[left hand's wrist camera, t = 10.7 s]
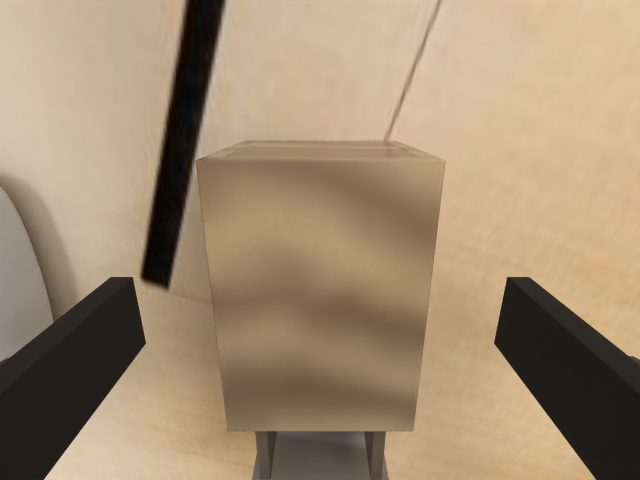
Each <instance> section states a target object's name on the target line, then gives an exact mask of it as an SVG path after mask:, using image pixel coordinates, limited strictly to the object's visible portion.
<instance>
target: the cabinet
mask: <svg viewBox="0 0 640 480" xmlns="http://www.w3.org/2000/svg"><path fill="white" fill-rule="evenodd" d="M196 167H197V175H198V184H199V192H200V200H201V209H202V217H203V226H204V234H205V243H206V251H207V260H208V268H209V277H210V285H211V293H212V302H213V310H214V319H215V327H216V336H217V344H218V353H219V361H220V370H221V378H222V386H223V395H224V403H225V412H226V420H227V429H228V431H413V429H414V421H415V413H416V404H417V396H418V387H419V379H420V371H421V362H422V354H423V345H424V337H425V329H426V320H427V312H428V303H429V295H430V286H431V278H432V270H433V261H434V253H435V244H436V236H437V228H438V219H439V211H440V202H441V194H442V186H443V177H444V169H445V160H443V159H440V158H438V157H435V156H433V155H430V154H428V153H425V152H423V151H420V150H417V149H415V148H412V147H410V146H407V145H405V144H402V143H400V142H397V141H244V142H241V143H238V144H236V145H233V146H231V147H228V148H226V149H223V150H221V151H218V152H216V153H213V154H211V155H208V156H206V157H203V158H201V159H198V160H196Z"/></svg>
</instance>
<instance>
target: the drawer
mask: <svg viewBox="0 0 640 480" xmlns="http://www.w3.org/2000/svg"><path fill="white" fill-rule="evenodd" d="M255 433H256V446H257V456H256V461H255V467H254V472H253V477H252V480H389V478H388V472H387V467H386V462H385V456H384V446H385V434H386V431H255Z"/></svg>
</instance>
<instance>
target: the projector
mask: <svg viewBox="0 0 640 480" xmlns="http://www.w3.org/2000/svg"><path fill="white" fill-rule="evenodd" d="M51 324H53V317H52V312H51V307H50V303H49V299H48V295H47V291H46V287H45V284H44V280H43V277H42V273H41V270H40V267H39V264H38V261H37V258H36V255H35V252H34V249H33V247H32V244H31V242H30V239H29V236H28V234H27V231H26V229H25V227H24V224H23V222H22V220H21V218H20V216H19V214H18V212H17V210H16V208H15V206H14V204H13V203H12V201H11V200H10V198H9V197H8V195H7V194H6V192H5V191H4V190H3V189H2V187H1V186H0V361H2V360H4V359H6V358H10V357H11V356H12V355H14V354H15V353H16V352H17V351H19V350H20V349H21V348H22V347H24V346H25V345H26V344H27V343H29V342H30V341H31V340H32V339H34V338H35V337H36V336H37V335H39V334H40V333H41V332H42V331H44V330H45V329H46V328H47V327H49V326H50V325H51Z"/></svg>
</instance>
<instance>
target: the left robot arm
mask: <svg viewBox="0 0 640 480" xmlns="http://www.w3.org/2000/svg"><path fill="white" fill-rule="evenodd" d="M145 344H146V341H145V336H144V331H143V326H142V321H141V316H140V311H139V306H138V301H137V296H136V291H135V286H134V281H133V277H110V278H109V279H108V280H107V281H105V282H104V283H103V284H102V285H100V286H99V287H98V288H97V289H95V290H94V291H93V292H92V293H90V294H89V295H88V296H86V297H85V298H84V299H83V300H81V301H80V302H79V303H78V304H76V305H75V306H74V307H73V308H71V309H70V310H69V311H68V312H66V313H65V314H64V315H63V316H61V317H60V318H59V319H58V320H56V321H55V322H54V323H53V324H51V325H50V326H49V327H47V328H46V329H45V330H44V331H42V332H41V333H40V334H39V335H37V336H36V337H35V338H34V339H32V340H31V341H30V342H29V343H27V344H26V345H25V346H24V347H22V348H21V349H20V350H19V351H17V352H16V353H15V354H14V355H12V356H11V357H10V358H6V359H4V360H2V361H0V480H44V479H45V477H46V476H47V475H48V473H49V472H50V471H51V469H52V468H53V467H54V465H55V464H56V463H57V461H58V460H59V459H60V457H61V456H62V455H63V453H64V452H65V451H66V449H67V448H68V447H69V445H70V444H71V443H72V441H73V440H74V439H75V437H76V436H77V435H78V433H79V432H80V431H81V429H82V428H83V427H84V425H85V424H86V423H87V421H88V420H89V419H90V417H91V416H92V415H93V413H94V412H95V411H96V409H97V408H98V407H99V405H100V404H101V403H102V401H103V400H104V399H105V397H106V396H107V395H108V393H109V392H110V391H111V389H112V388H113V387H114V385H115V384H116V383H117V381H118V380H119V379H120V377H121V376H122V375H123V373H124V372H125V371H126V369H127V368H128V367H129V365H130V364H131V362H132V361H133V360H134V358H135V357H136V356H137V354H138V353H139V352H140V350H141V349H142V348H143V346H144V345H145ZM494 344H495V345H496V346H497V348H498V349H499V350H500V352H501V353H502V354H503V356H504V357H505V358H506V360H507V361H508V362H509V364H510V365H511V367H512V368H513V369H514V371H515V372H516V373H517V375H518V376H519V377H520V379H521V380H522V381H523V383H524V384H525V385H526V387H527V388H528V389H529V391H530V392H531V393H532V395H533V396H534V397H535V399H536V400H537V401H538V403H539V404H540V405H541V407H542V408H543V409H544V411H545V412H546V413H547V415H548V416H549V417H550V419H551V420H552V421H553V423H554V424H555V425H556V427H557V428H558V429H559V431H560V432H561V433H562V435H563V436H564V437H565V439H566V440H567V441H568V443H569V444H570V445H571V447H572V448H573V449H574V451H575V452H576V453H577V455H578V456H579V457H580V459H581V460H582V461H583V463H584V464H585V465H586V467H587V468H588V469H589V471H590V472H591V473H592V475H593V476H594V477H595V479H596V480H640V360H639V359H637V358H635V357H633V356H628V355H626V354H625V353H624V352H623V351H621V350H620V349H619V348H618V347H616V346H615V345H614V344H613V343H611V342H610V341H609V340H608V339H606V338H605V337H604V336H603V335H601V334H600V333H599V332H598V331H596V330H595V329H594V328H593V327H591V326H590V325H589V324H587V323H586V322H585V321H584V320H582V319H581V318H580V317H579V316H577V315H576V314H575V313H574V312H572V311H571V310H570V309H569V308H567V307H566V306H565V305H564V304H562V303H561V302H560V301H559V300H557V299H556V298H555V297H554V296H552V295H551V294H550V293H548V292H547V291H546V290H545V289H543V288H542V287H541V286H540V285H538V284H537V283H536V282H535V281H533V280H532V279H531V278H530V277H507V281H506V286H505V291H504V296H503V301H502V306H501V311H500V316H499V321H498V326H497V331H496V336H495V341H494Z"/></svg>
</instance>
